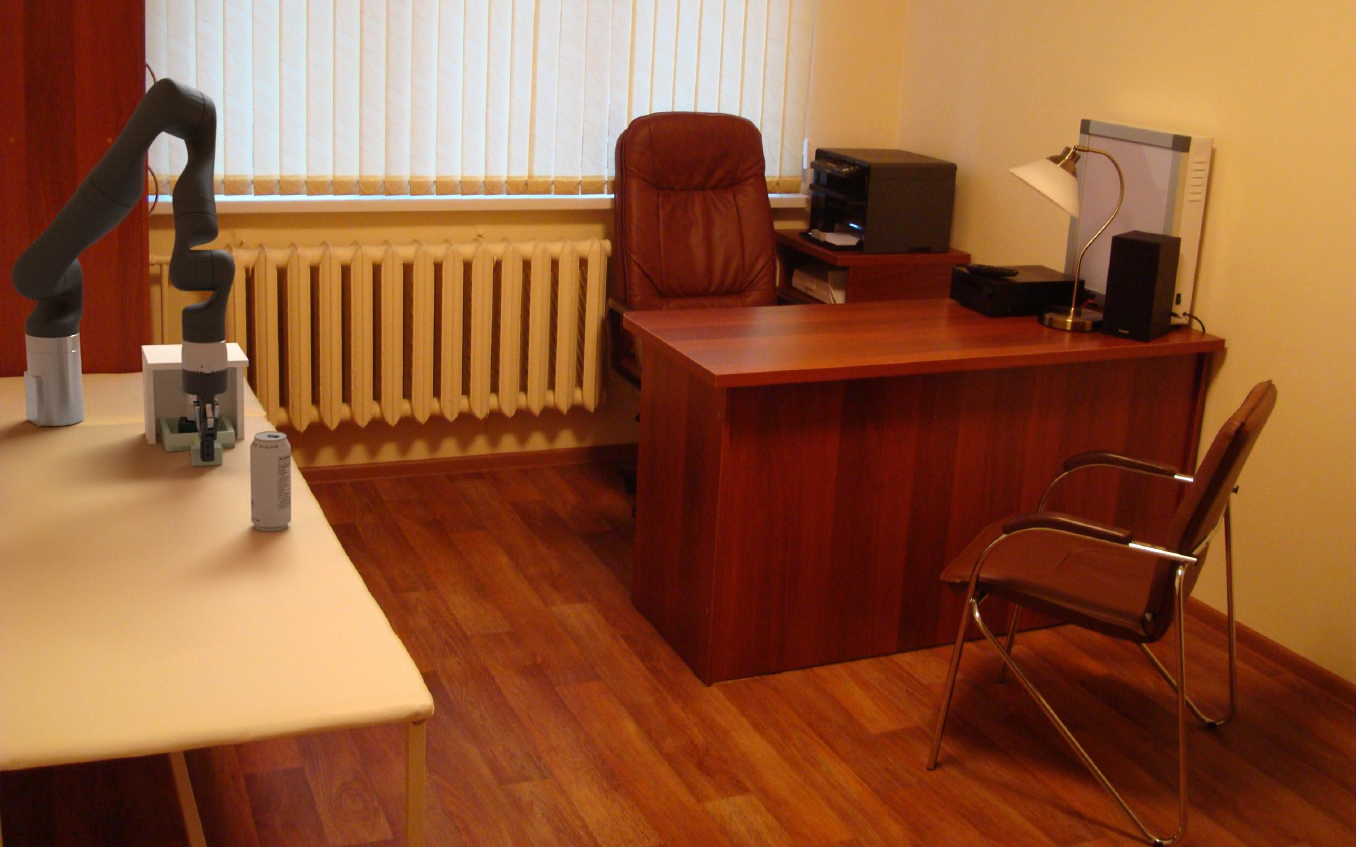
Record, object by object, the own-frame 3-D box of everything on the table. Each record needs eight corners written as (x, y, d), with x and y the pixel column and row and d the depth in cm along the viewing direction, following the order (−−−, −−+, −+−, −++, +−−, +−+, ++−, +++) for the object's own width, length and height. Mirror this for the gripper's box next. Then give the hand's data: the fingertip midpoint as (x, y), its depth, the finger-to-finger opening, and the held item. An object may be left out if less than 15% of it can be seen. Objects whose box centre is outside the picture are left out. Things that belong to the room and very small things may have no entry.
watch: (212, 429, 244) (211, 373, 241) (209, 441, 237) (207, 384, 234) (181, 429, 243) (179, 373, 240) (177, 442, 235) (175, 384, 232)
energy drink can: (260, 517, 205) (259, 428, 201) (297, 521, 205) (296, 432, 200) (245, 530, 199) (243, 439, 195) (282, 534, 199) (281, 442, 195)
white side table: (249, 448, 238) (248, 360, 233) (151, 454, 230) (148, 363, 226) (238, 427, 250) (237, 343, 245) (145, 432, 242) (141, 345, 237)
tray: (242, 462, 229) (242, 446, 229) (171, 467, 224) (171, 450, 223) (225, 429, 248) (225, 413, 247) (159, 432, 242) (159, 416, 242)
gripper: (177, 357, 224) (180, 451, 229) (186, 374, 213) (189, 473, 217) (222, 356, 228) (224, 448, 232) (233, 372, 216) (235, 470, 221)
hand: (207, 460), depth 225 cm, fingers closed
